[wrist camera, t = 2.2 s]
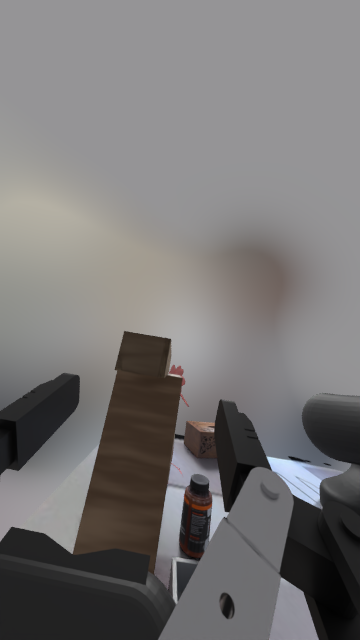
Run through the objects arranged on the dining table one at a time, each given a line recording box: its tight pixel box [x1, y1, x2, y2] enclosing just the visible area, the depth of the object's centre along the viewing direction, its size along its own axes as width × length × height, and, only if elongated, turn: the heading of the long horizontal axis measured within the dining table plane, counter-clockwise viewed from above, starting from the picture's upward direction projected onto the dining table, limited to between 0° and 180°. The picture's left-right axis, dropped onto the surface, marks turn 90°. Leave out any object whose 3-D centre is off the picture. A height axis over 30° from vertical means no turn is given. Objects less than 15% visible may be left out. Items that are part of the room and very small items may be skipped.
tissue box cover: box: [184, 421, 217, 458], centre depth 86 cm, size 26×14×10 cm, turn 113°
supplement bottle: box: [179, 474, 212, 558], centre depth 38 cm, size 6×6×11 cm
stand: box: [73, 371, 183, 575], centre depth 30 cm, size 14×10×32 cm
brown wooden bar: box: [115, 331, 171, 378], centre depth 31 cm, size 26×5×4 cm, turn 3°
